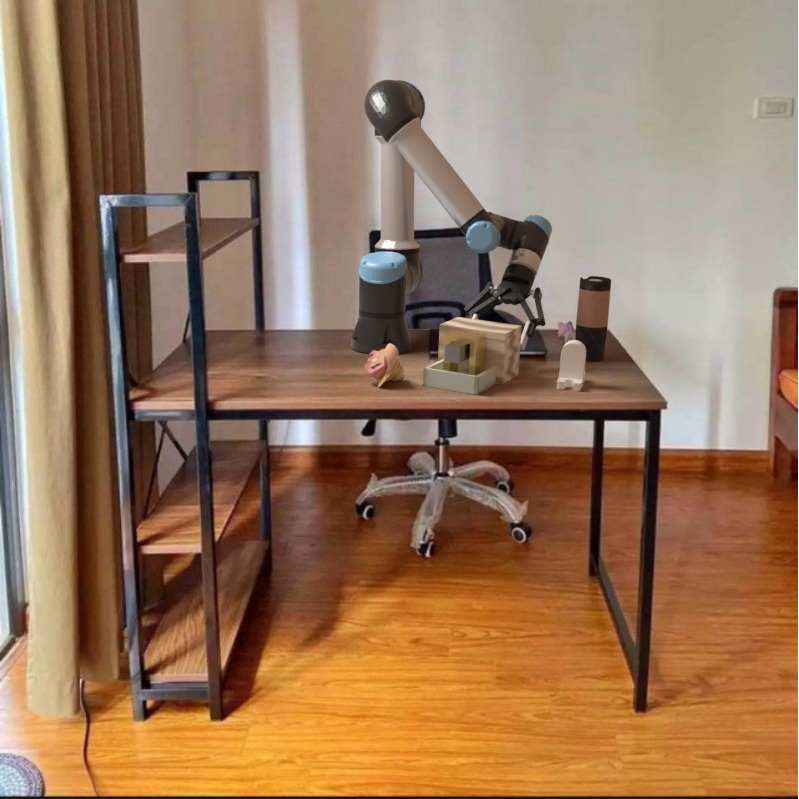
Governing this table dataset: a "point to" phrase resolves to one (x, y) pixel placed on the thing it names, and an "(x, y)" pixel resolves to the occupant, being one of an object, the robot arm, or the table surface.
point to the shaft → (457, 352)
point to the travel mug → (593, 316)
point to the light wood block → (489, 345)
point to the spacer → (476, 351)
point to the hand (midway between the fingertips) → (494, 343)
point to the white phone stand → (572, 365)
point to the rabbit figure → (566, 331)
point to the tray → (458, 379)
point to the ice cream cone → (385, 365)
